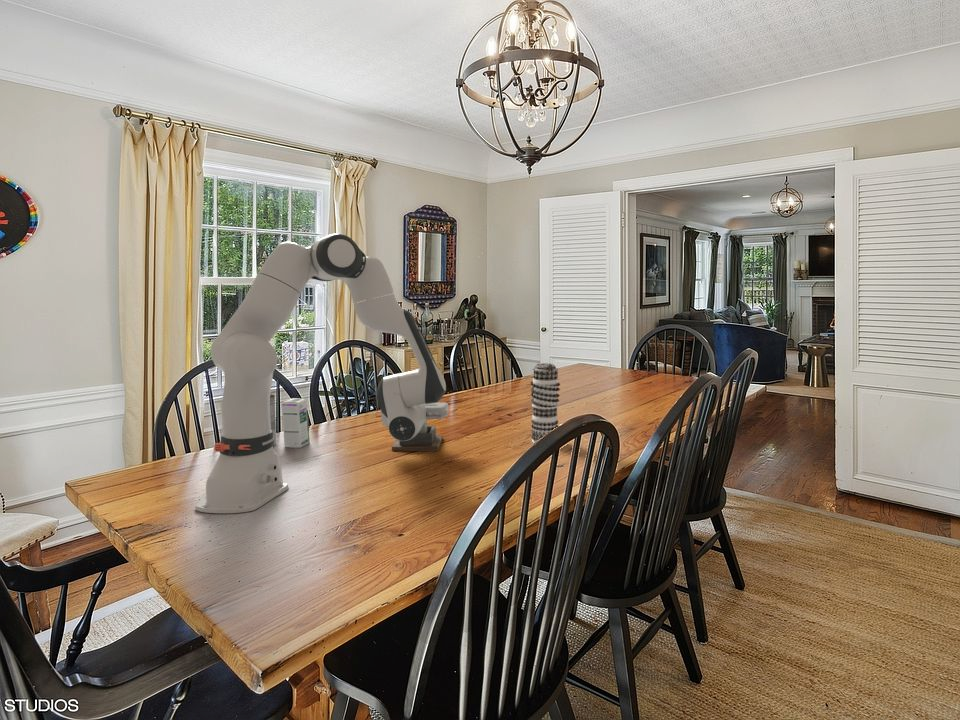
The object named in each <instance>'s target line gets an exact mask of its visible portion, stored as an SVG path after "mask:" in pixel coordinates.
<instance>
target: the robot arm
mask: <svg viewBox="0 0 960 720" xmlns="http://www.w3.org/2000/svg"><path fill="white" fill-rule="evenodd" d="M310 279H312V280H315V281H319V282H320V281H321V282H332V281H338V280H339V281H340V280H341V282H343V283H344V284H346V286H347V288H348V289H349V292H350V295H351V299H352V303H353V307H354V311H355V313H356V314H355V315H357V319H358V321H359V322H360V323H361V324H362V326H364V327H366V328H367V329H369V330H372V331H374V332H380V333H385V334H393V335H396V336H401V337H403V338H404V339H405V340H406V341H407V342H408V344H409V346H410V348H411V350H412V352H413V355H414V357H415V359H416V360H417V361H416V362H417V363H418V365H419V367H418V368H416V369H413V370H410V371H409V370H408V371H405V372H404V371H403V372H398V373H394V374H390V375H385V376H383V377H382V378H381V380H380V381H379V384H378V386H377V390H376V399H377V403H378V407H379V409H380V412H381V413H380V415H381V416H380V417H381V418H380V419H381V424H382V425H383V426H384V427H385V426H386V427H387V430H388V432H389V434H390V436H391V437H392V438H393V439H395V440H399V441H408V440H410V439H412V438H414V437H415V436H416V435H417V434H418V433H419V431H420V430H421V428H422V426H423V424H424V422H425V420H426V419H427V420H441V419H445V418H446V417H447V416H448V415H449V403H448V402H440V401H441V400H442V398H443V397H444V395H445V393H446V392H447V384H446V380H445V378H444V375H443V373H442V372H441V370H440V369H439V367H438V365H437V362H436V360H435V359H434V357H433V354H432V351H431V350H430V348H429V345H428V344H427V341H426V339H425V337H424V334H423V332H422V330H421V328H420V325H419V324H418V322H417V320H416V319H415V317H414V315H413V314H412V312H411V311H409V310H406V309H404V308H403V307H401V305H400V304H399V302H398V301H397V299H396V295H395V293H394V289H393V286H392V283H391V281H390V280H391V279H390V278H389V274H388V273H387V270H386V268H385V266H384V264H383V262H382V261H381V260H380V259H378V258H376V257H373V256H366V254H365V253H364V252H363V251H362V250H361V248H359V246H358V244H357V243H356V241H354V240H353V239H352V238H351V237H349V236H348V235H346V234H343V233H331V234H328V235H325V236H324V237H321V238H319V239H318V240H316V241H315V242H312V244H310V245H309V246H308V247H306V246H302V245H300V244H299V243H297V242H292V241H284V242H280V243H279V244H278V245H276V247H275V248H274V249H273V250H272V251H271V253H270V254H269V256H268V257H267V258H266V259H265V261H264V262H263V264H262V266H261V268H260V270H259V271H258V273H257V275H256V276H255V277H254V281H253V282H252V283H251V286H250V287H249V289H248V291H247V293H246V295H245V297H244V298H243V301H242V302H241V304H239V307H238V308H237V309H236V311H235V312H234V313H233V314H232V315H231V317H230V319H229V320H228V321H227V323H226V324H225V325H224V326H223V329H222V330H221V332H220V333H219V334H218V336H217V337H215V339H213V342H212V343H211V345H210V349H209V350H210V351H209V353H210V357H211V361H212V363H213V364H214V366H215V367H216V368H217V369H218V370H219V371H221V372H223V375H224V382H223V383H224V385H223V393H222V399H221V402H220V415H221V416H220V417H221V429H222V430H221V433H222V434H221V436H220V441H219V442H215V443H214V446H213V448H214V452H218V453H219V456H218V458H217V460H216V461H215V463H214V465H213V467H212V469H211V471H210V473H209V475H208V477H207V479H206V483H205V493H204V495H203V496H202V497H201V498H200V499H199V500H198V502H197V503H196V504H195V505H194V506H195V508H194V509H195V511H197V512H200V513H206V514H207V513H209V514H239V513H246V512H252V511H255V510H258V508H260V507H262V506H263V505H265V504H267V503H269V502H270V501H271V500H273V499H275V498H277V496H280V495H281V494H282V493H284V492H285V491H287V490H288V489H289V484H288V483H287V482H285V481H284V478H283V473H282V464H281V458H280V455H279V454H278V453H277V452H276V450H275V449H274V447H273V446H275V445H274V436H273V431H272V430H271V420H270V394H271V393H272V392H271V391H272V385H273V377H274V371H275V370H276V368H277V364H278V354H277V351H276V349H275V348H274V347H273V345H272V344H271V343H270V341H271V340H272V339H273V338H274V337H275V335H276V334H277V333H278V332H279V330H280V329H281V328H283V326H285V324H286V323H287V322H288V320H289V318H290V316H291V314H292V312H293V310H294V308H295V307H296V304H298V303H297V302H298V300H299V299H300V296H301V295H302V292H303V291H304V288H305V286H306V284H308V282H309V280H310Z"/></svg>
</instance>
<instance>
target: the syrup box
mask: <svg viewBox="0 0 960 720" xmlns="http://www.w3.org/2000/svg"><path fill="white" fill-rule="evenodd" d="M281 413H282V414H281V415H282V416H281V417H282V428H283V444H284V447H285V448H291V449H292V448H294V449H302V447H304V446H306V445H308V444H310V442H311V441H310V426H309V425H310V423H309V408H308V399H307V398H300V397H299V398H297V397H295V398H294V397H293V398H292V397H291V398H290V399H287V400H285V401H282V402H281Z"/></svg>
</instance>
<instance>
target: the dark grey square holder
mask: <svg viewBox="0 0 960 720" xmlns="http://www.w3.org/2000/svg"><path fill="white" fill-rule="evenodd" d="M443 435H444V434H437V427H436V425H427V433H418V434H417V435H416V436H415V437H414V438H412V439H410V440H408V441H399V440H397V439H395V441H394V443H393V444H392V446H391V451H392V452H394V451H395V452H397V451H399V452H404V451H406V452H438V451H439V450H440V447H441V444H442V441H443Z"/></svg>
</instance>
